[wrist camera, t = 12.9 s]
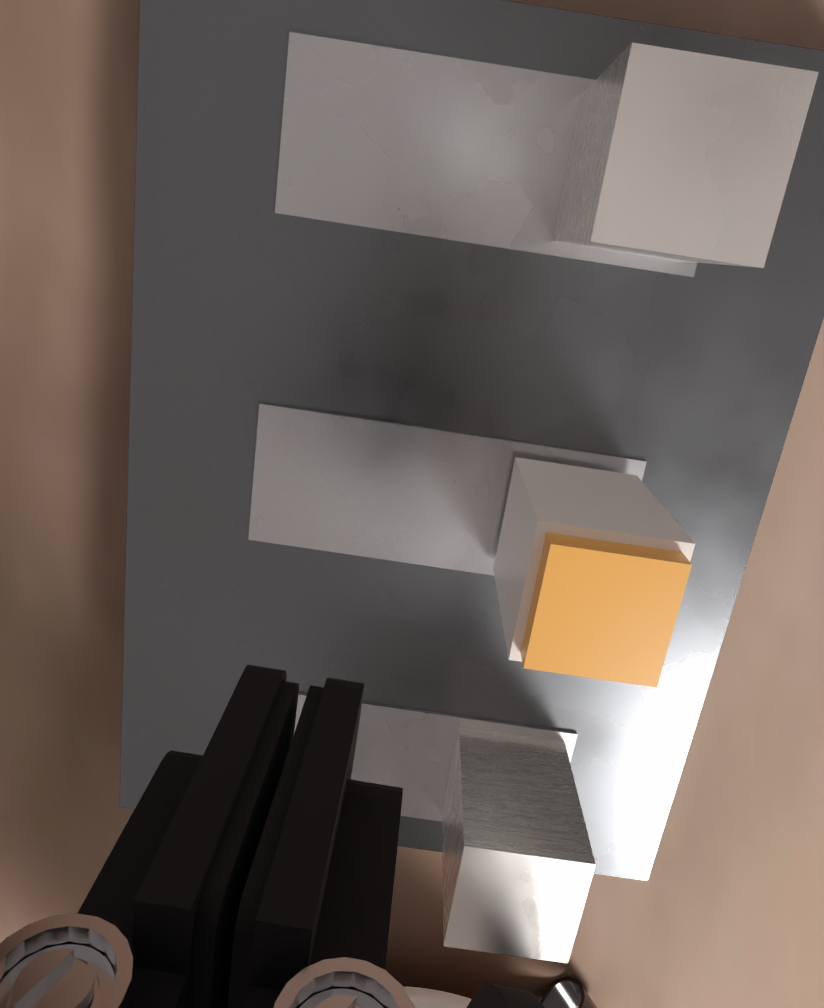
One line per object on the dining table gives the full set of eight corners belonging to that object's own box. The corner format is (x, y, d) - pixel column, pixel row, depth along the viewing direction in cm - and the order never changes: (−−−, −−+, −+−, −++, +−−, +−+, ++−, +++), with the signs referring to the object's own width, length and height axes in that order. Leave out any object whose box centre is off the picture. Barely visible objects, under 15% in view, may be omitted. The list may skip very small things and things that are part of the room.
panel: (173, -27, 18) (29, -170, 12) (853, 82, 18) (1073, -2, 12) (143, 763, 25) (45, 939, 19) (631, 832, 25) (696, 1028, 19)
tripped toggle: (515, 457, 19) (542, 532, 14) (637, 475, 19) (705, 556, 14) (493, 569, 20) (511, 675, 15) (609, 586, 20) (664, 697, 15)
